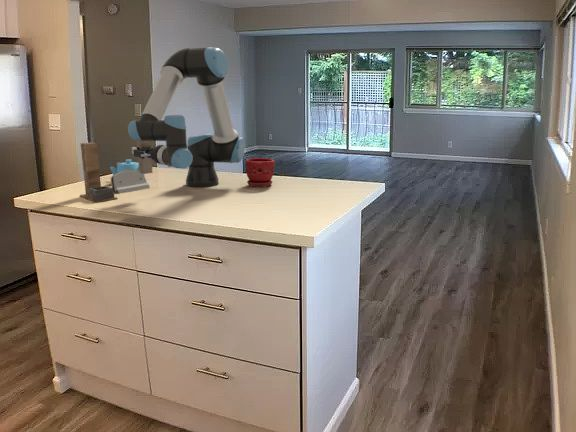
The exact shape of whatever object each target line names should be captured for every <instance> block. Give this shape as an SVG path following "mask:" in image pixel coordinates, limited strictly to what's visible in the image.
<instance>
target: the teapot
mask: <svg viewBox="0 0 576 432" xmlns="http://www.w3.org/2000/svg"><path fill="white" fill-rule="evenodd" d="M116 167H117V168H116ZM116 167H114V166H110V168H109V169H110V171H111V173H112V176H113V175H115V174H117V173H119V172H122V171H126V170H138V171H139V163H138V161H137V162H135V161H132V159H131V158H130V159H125V162H116ZM144 177H145V178H146V175H145V174H144Z"/></svg>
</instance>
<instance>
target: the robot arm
mask: <svg viewBox="0 0 576 432" xmlns="http://www.w3.org/2000/svg"><path fill="white" fill-rule="evenodd" d="M228 66H229V65H228V61H227V57H226V55H225V52H224V51H223V50H222V49H220V48H218V47H211V46H210V47H209V46H208V47H197V48H196V47H195V48H194V47H193V48H189V47H188V48H181V49H180V50H177V51H176V52H175V53H173V54H172V55H170V56H169V57H168V59H167V60H166V61H165V62H164V64H163V65H162V68H161V70H160V77H159V79H158V81H157V84H156V85H155V87H154V89H153V91H152V93H151V95H150V98H149V99H148V101H147V103H146V105H145V108H144V109H143V111H142V113H141V115H140V117H139V119H138V120H137V119H134V120H132V121H130V122H129V124H128V126H127V131H128V135H129V137H130V139H132V140H133V141H137V140H139V141H150V142H152V141H153V142H155V141H156V142H158V141H159V142H165V144H159V145H156V146H155V147H154V146H153V147H151V149H147V150H143V149H141V148H139V147H137V146H136V147H134V146H131V152H132V155H133V156H134V157H137V158H138V157H140V158H142V159H144V158H146V156H147V157H148V158H151V159H152V160H153V161H154V162H155V163H156V164H158V165H163V166H167V168H171V167H172V168H175V169H182V170H184V169H187V168H188V171H187V173H186V174H187V175H186V179H185V185H186V186H187V187H192V188H202V187H203V188H204V187H213V186H217V185H219V184H220V183H219V177H218V174H217V172H216V168H215V163H228V164H229V163H230V164H236V163H237V164H238V163H240V162H242V160H243V158H244V154H245V149H246V142H245V141H246V140H245V139H244V137H242V136H239V134H238V131H237V130H236V129H234V126H233V123H232V122H233V121H232V119H231V114H230V113H231V112H230V109H229V104H228V100H227V95H226V92H225V88H224V84H223V82H224V81H225V79H226V76H227V74H228V69H229V68H228ZM187 78H188V79H189V78H191V79H192V78H193V79H194V78H195V79H196V81H197V85H199V86H200V87H202V90H203V94H204V97H205V98H204V99H205V101H206V106H207V110H208V114H209V118H210V121H211V126H212V129H213V132H214V133H204V134H196V135H192V136H188V138H187V126H186V119H185V116H184V115H182V114H169V115H165V114H166V111H167V109H168V108H169V105H170V103H171V101H172V99H173V97H174V94H175V93H176V91H177V88H178V86H179V85H181V84H182V83H183V81H184V80H185V79H187ZM164 115H165V116H164ZM163 118H164V119H163Z"/></svg>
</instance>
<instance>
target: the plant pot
mask: <svg viewBox="0 0 576 432" xmlns="http://www.w3.org/2000/svg"><path fill="white" fill-rule="evenodd" d="M265 169H266V170H265ZM274 169H275V160H274V159H272V158H247V159H245V172H246V176H247V178H248V180H247V181H246V182H247V185H249V186H251V187H254V188H256V187H257V188H258V187H259V188H260V187H262V188H263V187H264V186H265V187H269V186H271V185H272V183H273V180H272V179H273V175H274V171H275V170H274Z"/></svg>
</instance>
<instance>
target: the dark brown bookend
mask: <svg viewBox="0 0 576 432" xmlns="http://www.w3.org/2000/svg"><path fill="white" fill-rule="evenodd" d="M80 151H81V161H82V170H83V181H84V189H85V194H80V195H79V197H81V198H83V199H86V200H88V201H91V202H92V203H93V202H94V203H101V202H108V201H112V200H115V201H116V200H118V197H117V196H115V192H114V191H113V188H112V186H111V187H110V186H107V185H102V184H101V173H100V163H99V151H98V143H97V142H81V143H80Z"/></svg>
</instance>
